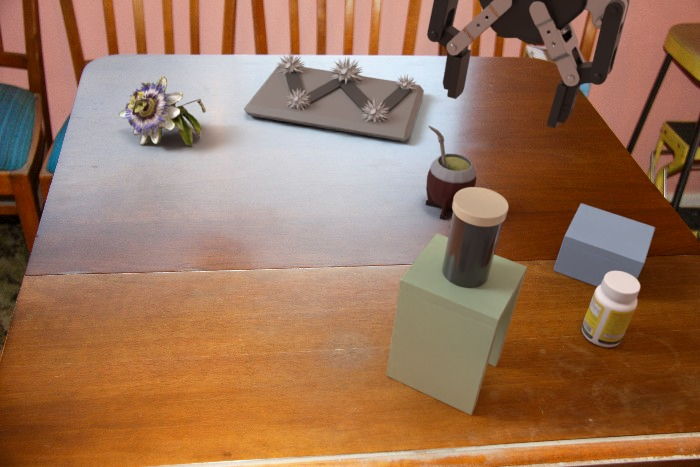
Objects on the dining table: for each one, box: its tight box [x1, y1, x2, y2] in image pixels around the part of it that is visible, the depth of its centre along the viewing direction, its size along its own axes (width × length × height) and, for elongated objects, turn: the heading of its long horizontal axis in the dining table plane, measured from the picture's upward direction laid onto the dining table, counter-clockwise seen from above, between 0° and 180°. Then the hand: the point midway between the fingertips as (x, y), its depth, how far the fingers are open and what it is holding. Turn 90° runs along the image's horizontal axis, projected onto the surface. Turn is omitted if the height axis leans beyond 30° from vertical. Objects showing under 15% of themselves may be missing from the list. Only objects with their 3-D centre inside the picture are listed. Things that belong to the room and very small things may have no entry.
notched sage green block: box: [385, 233, 528, 416], centre depth 69 cm, size 10×9×14 cm
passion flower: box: [118, 75, 207, 147], centre depth 108 cm, size 11×11×12 cm
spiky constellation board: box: [243, 53, 425, 142], centre depth 121 cm, size 30×22×7 cm
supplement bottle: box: [581, 271, 641, 348], centre depth 76 cm, size 5×5×8 cm
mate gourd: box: [425, 125, 477, 221], centre depth 93 cm, size 8×8×15 cm
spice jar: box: [442, 186, 510, 288], centre depth 62 cm, size 5×5×8 cm
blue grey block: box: [553, 203, 656, 288], centre depth 88 cm, size 10×9×6 cm
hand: (503, 109), depth 54 cm, fingers open, 8 cm apart
